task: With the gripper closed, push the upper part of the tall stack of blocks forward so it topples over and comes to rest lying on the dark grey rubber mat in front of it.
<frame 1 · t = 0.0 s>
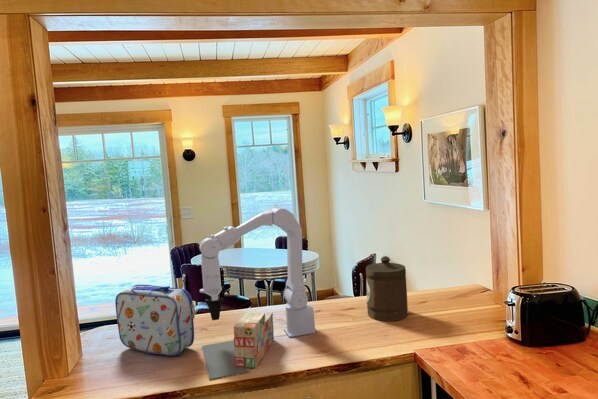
hand: (214, 315, 145), 10 cm above the counter, tool pointing down, fingers open, 7 cm apart
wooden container: (387, 314, 166), on the counter
lunch box: (159, 349, 145), on the counter
stack of blocks: (255, 352, 138), on the counter, touching mat
mat: (223, 358, 135), on the counter
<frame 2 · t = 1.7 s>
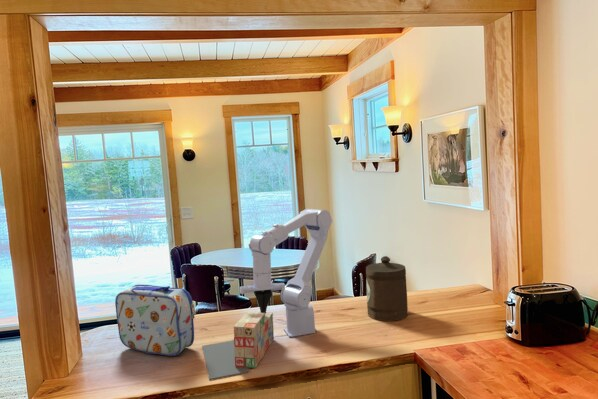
hand: (263, 313, 143), 10 cm above the counter, tool pointing down, fingers closed
nothing on the counter moved.
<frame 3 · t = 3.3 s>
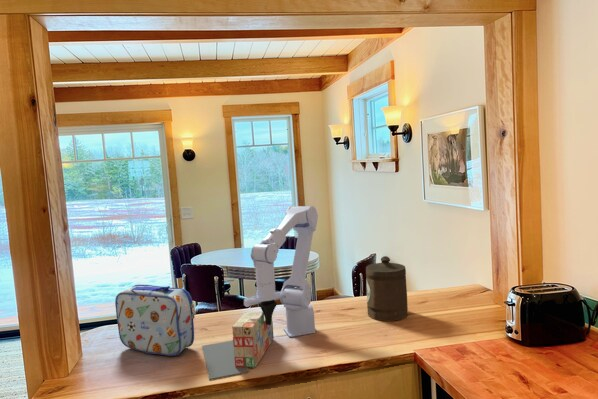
hand: (268, 324, 139), 9 cm above the counter, tool pointing down, fingers closed, pressing on stack of blocks
stack of blocks: (255, 352, 138), on the counter, touching gripper, mat
everything else where it was.
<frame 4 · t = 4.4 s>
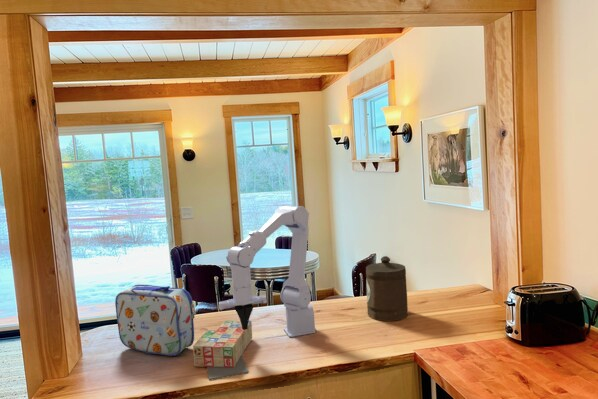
hand: (244, 328, 136), 8 cm above the counter, tool pointing down, fingers closed
stack of blocks: (244, 342, 138), point 3 cm above the counter, touching mat
everything else where it was.
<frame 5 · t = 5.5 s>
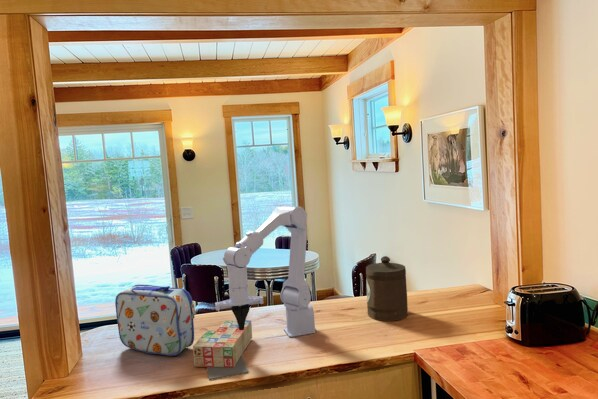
hand: (241, 329, 136), 8 cm above the counter, tool pointing down, fingers closed
nothing on the counter moved.
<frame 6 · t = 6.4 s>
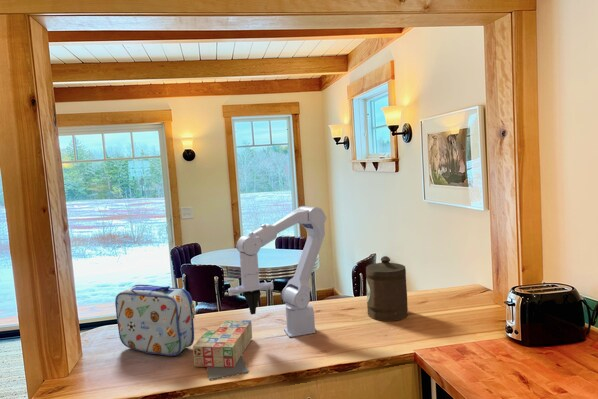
hand: (252, 313, 144), 10 cm above the counter, tool pointing down, fingers closed
nothing on the counter moved.
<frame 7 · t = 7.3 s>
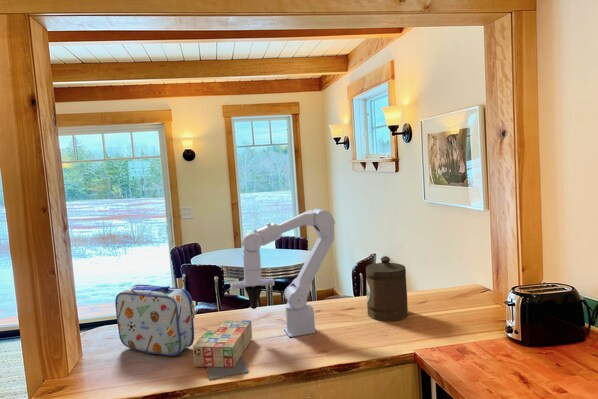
hand: (253, 307, 149), 10 cm above the counter, tool pointing down, fingers closed
nothing on the counter moved.
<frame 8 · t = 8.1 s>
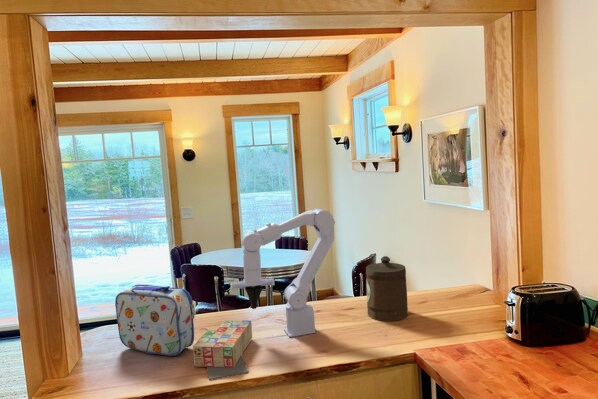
hand: (253, 307, 149), 10 cm above the counter, tool pointing down, fingers closed
nothing on the counter moved.
at the end: stack of blocks tilted 90°; stack of blocks inside the target area (6.0 cm from its centre), point 3.5 cm above the counter; stack of blocks moved 5.0 cm from its start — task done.
